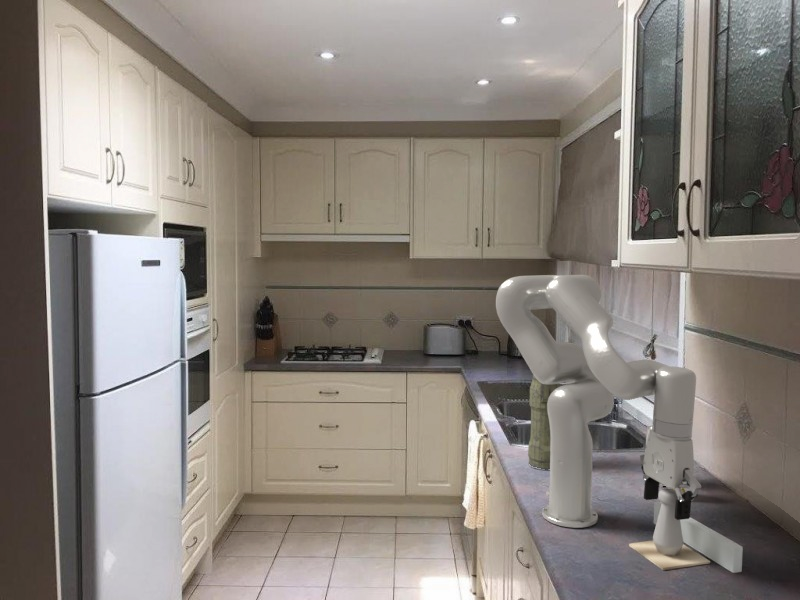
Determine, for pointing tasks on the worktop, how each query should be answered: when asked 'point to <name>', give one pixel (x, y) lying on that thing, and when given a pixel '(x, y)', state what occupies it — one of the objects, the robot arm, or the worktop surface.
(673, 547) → the salt shaker
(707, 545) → the acrylic wall
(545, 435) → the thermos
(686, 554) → the coaster board
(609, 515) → the worktop surface
